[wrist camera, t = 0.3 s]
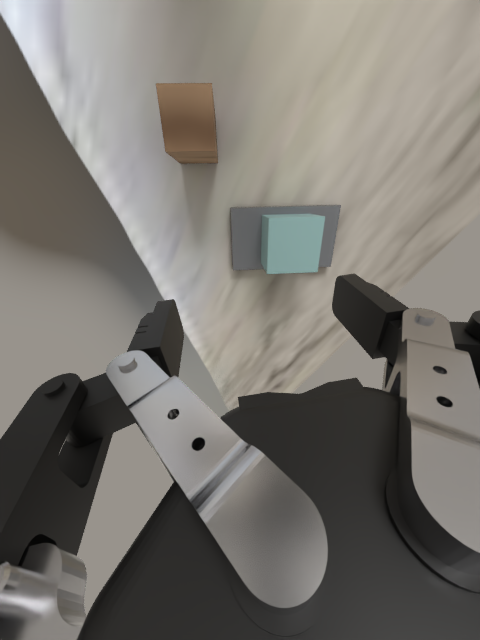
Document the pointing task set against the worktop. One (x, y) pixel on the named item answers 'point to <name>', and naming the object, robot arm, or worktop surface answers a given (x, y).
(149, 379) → the robot arm
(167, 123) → the walnut brick
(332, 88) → the worktop surface
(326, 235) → the tower base
